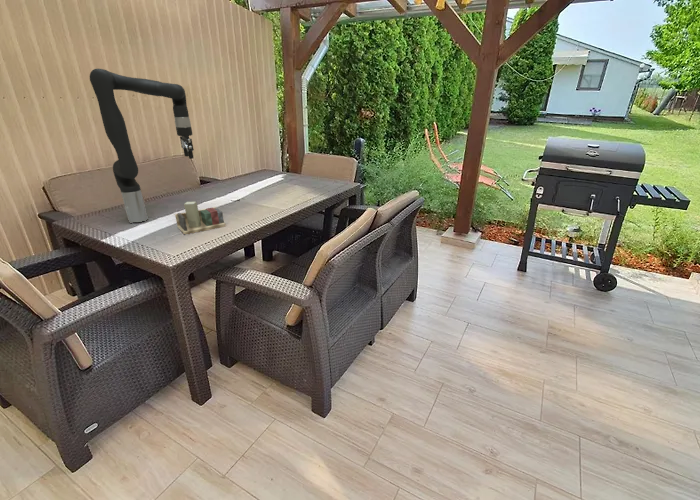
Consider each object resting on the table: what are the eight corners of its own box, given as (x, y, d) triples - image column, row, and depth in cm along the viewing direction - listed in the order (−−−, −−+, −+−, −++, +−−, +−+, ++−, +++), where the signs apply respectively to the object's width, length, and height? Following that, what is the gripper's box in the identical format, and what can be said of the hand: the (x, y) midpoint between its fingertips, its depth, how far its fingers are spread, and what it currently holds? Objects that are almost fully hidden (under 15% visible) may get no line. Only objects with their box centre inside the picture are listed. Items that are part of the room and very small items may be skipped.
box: (201, 224, 185) (197, 201, 179) (198, 227, 181) (194, 203, 175) (191, 224, 184) (186, 201, 179) (188, 227, 180) (183, 203, 175)
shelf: (184, 235, 175) (181, 219, 172) (177, 227, 184) (174, 212, 181) (225, 226, 187) (223, 211, 183) (217, 219, 196) (215, 205, 193)
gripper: (172, 125, 186) (178, 156, 193) (179, 127, 176) (185, 160, 183) (187, 124, 190) (192, 155, 197) (194, 126, 180) (200, 158, 187)
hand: (189, 157), depth 190 cm, fingers open, 8 cm apart
